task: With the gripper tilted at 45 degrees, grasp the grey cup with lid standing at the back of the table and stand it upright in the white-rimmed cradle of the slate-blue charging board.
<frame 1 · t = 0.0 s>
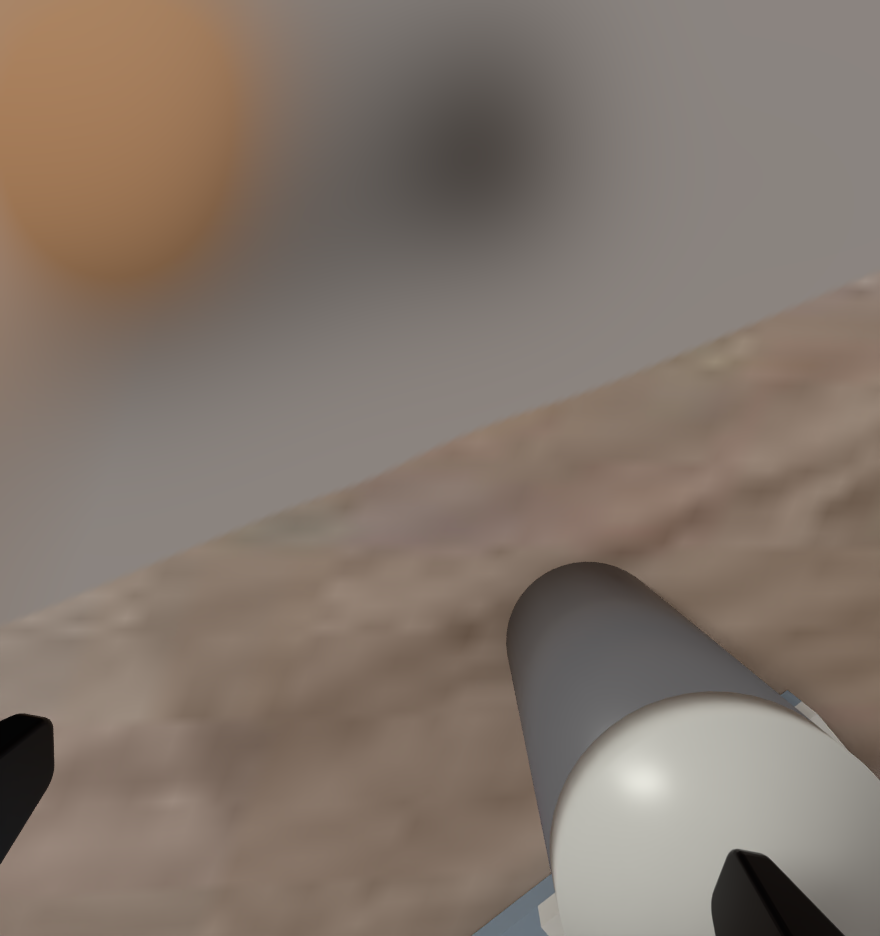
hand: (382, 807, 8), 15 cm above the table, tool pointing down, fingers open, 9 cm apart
charging board: (761, 911, 24), on the table
grey cup with lid: (587, 642, 24), on the table
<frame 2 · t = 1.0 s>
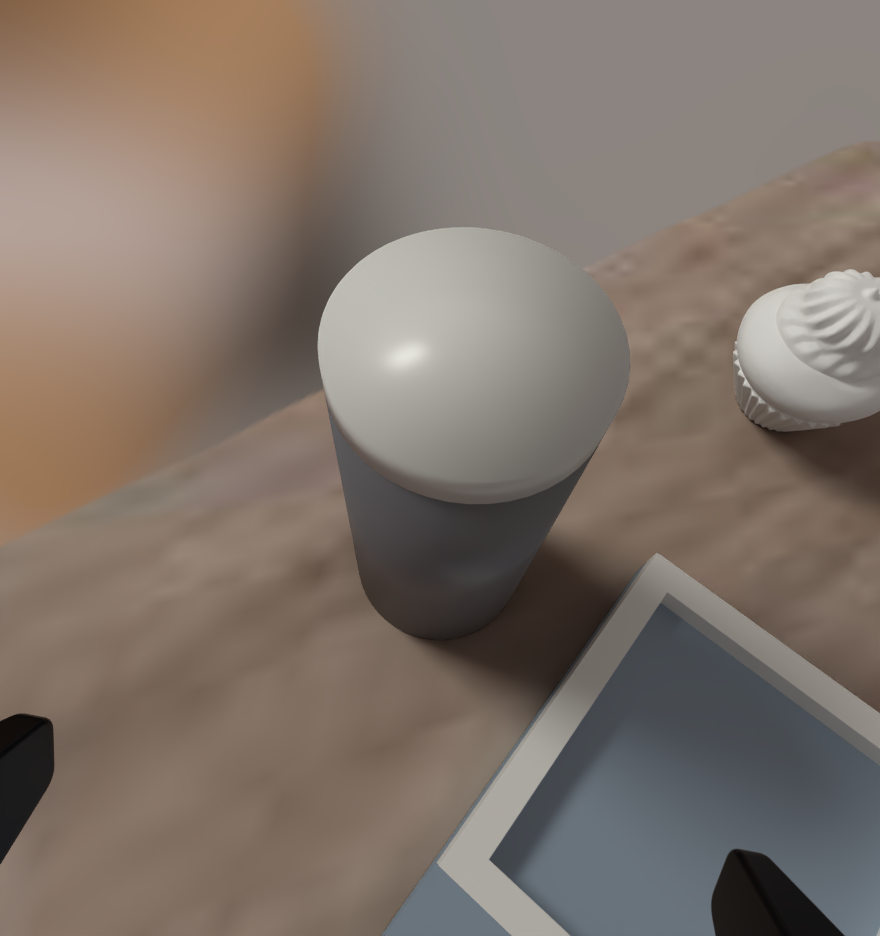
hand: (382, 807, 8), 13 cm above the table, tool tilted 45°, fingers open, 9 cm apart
muffin: (769, 403, 28), on the table
charging board: (700, 826, 20), on the table
grey cup with lid: (439, 558, 24), on the table
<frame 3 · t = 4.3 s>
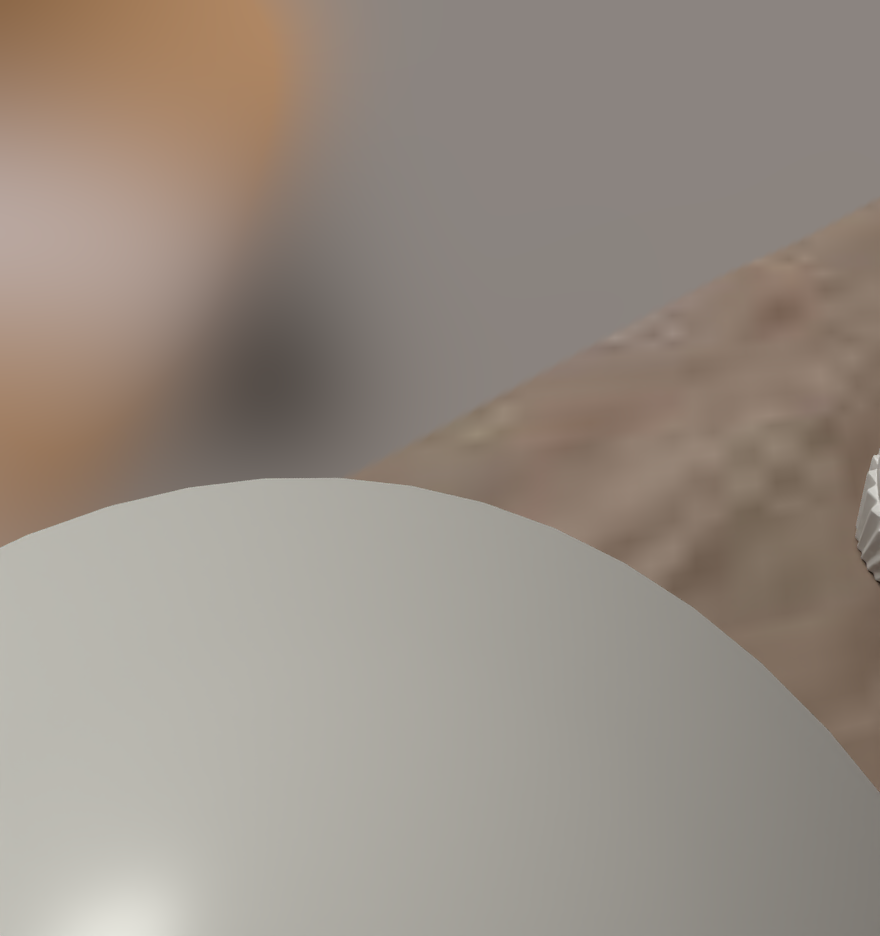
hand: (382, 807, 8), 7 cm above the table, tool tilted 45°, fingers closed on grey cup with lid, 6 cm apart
grey cup with lid: (375, 876, 14), on the table, touching gripper
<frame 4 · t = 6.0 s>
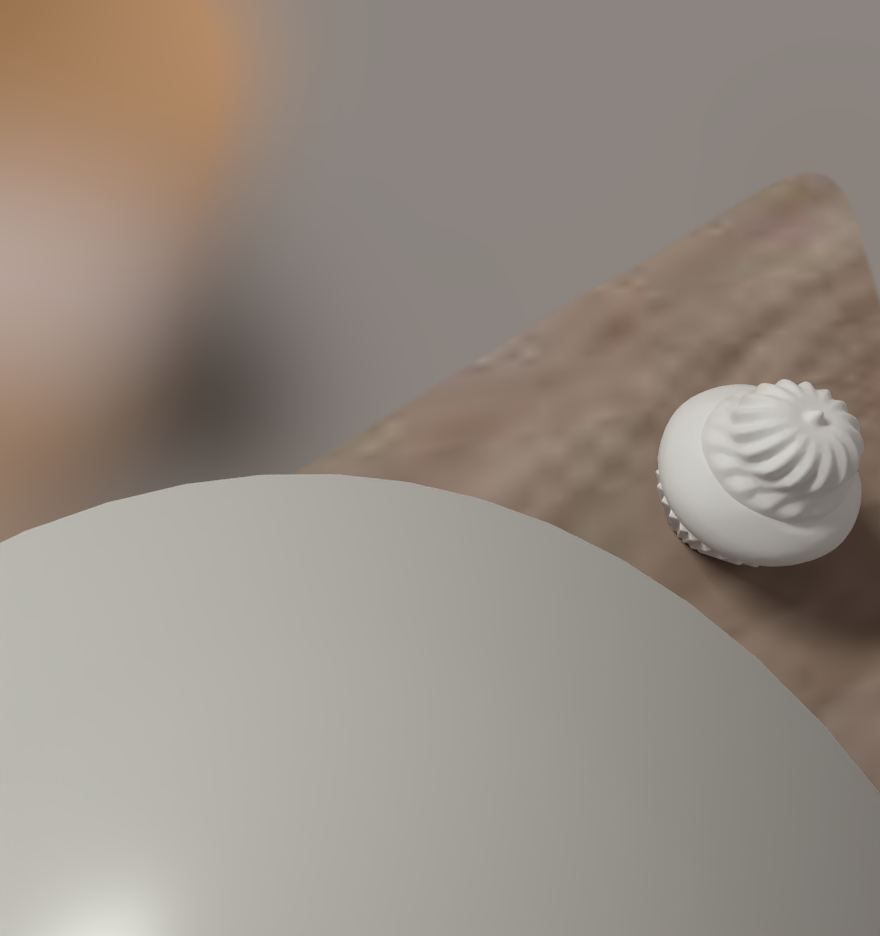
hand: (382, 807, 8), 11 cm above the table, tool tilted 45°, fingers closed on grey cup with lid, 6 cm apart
muffin: (706, 516, 23), on the table
grey cup with lid: (375, 875, 14), point 5 cm above the table, touching gripper
when the fingers open (9 cm above the table, at t = 7.9 s): grey cup with lid drops 2 cm, resting on charging board.
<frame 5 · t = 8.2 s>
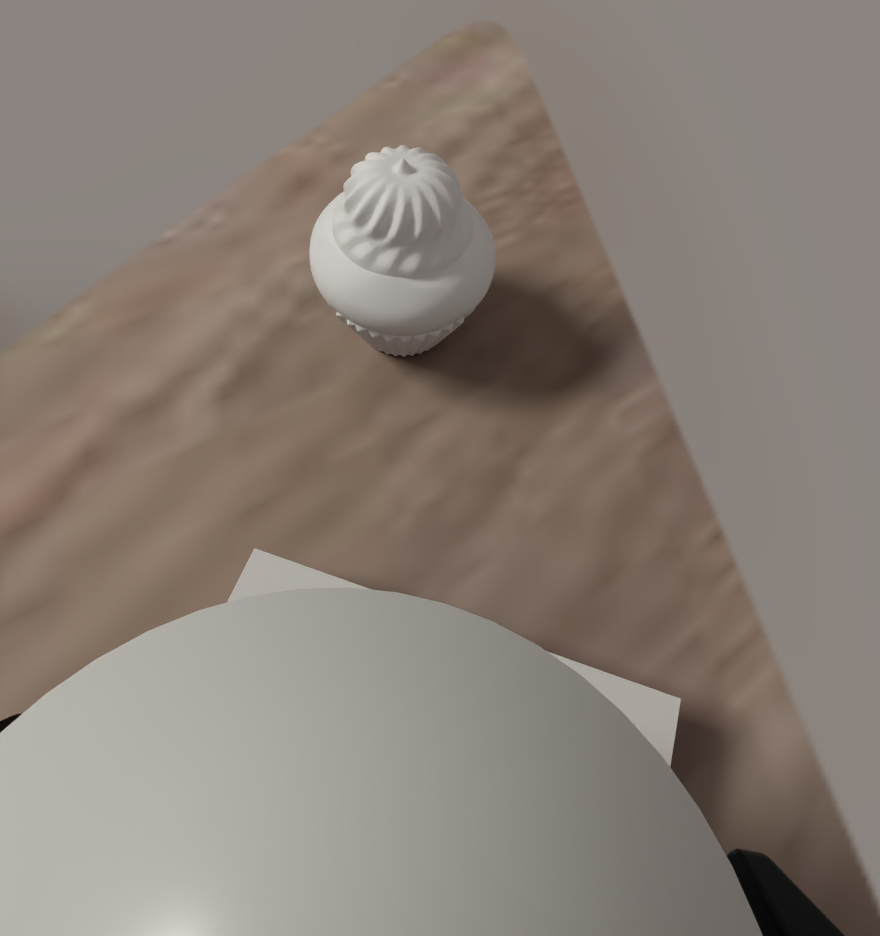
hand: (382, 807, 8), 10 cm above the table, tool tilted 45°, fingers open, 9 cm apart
muffin: (402, 326, 24), on the table
charging board: (380, 863, 16), on the table
grey cup with lid: (379, 871, 15), point 1 cm above the table, touching charging board
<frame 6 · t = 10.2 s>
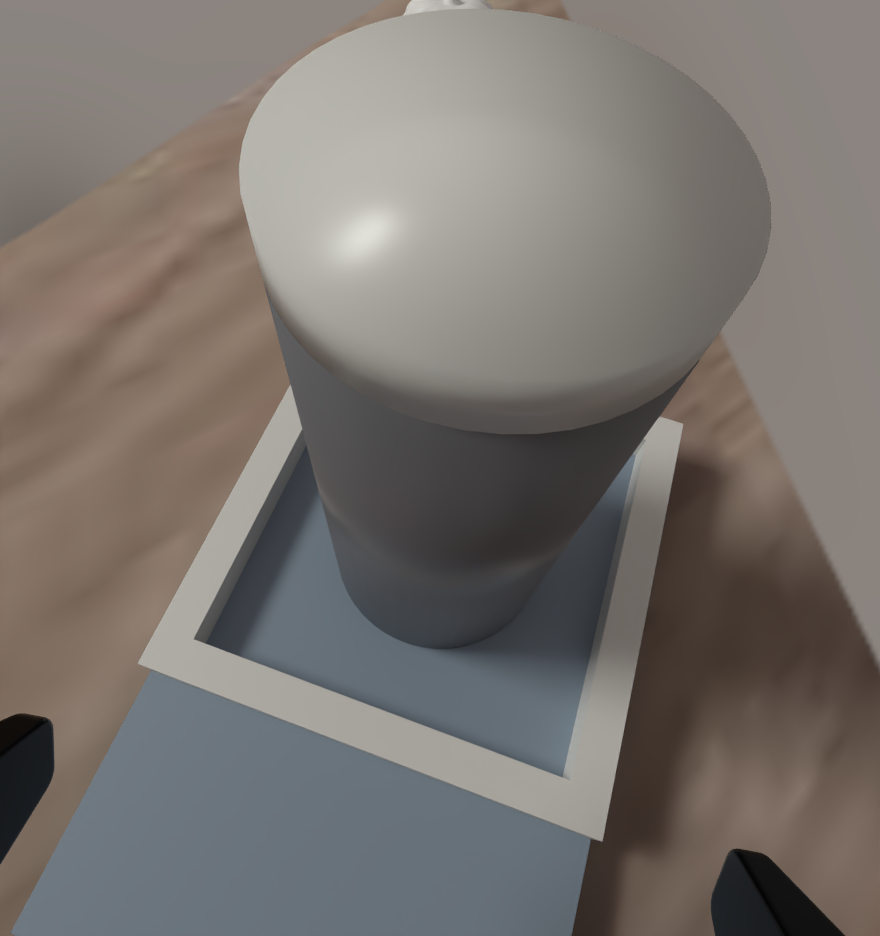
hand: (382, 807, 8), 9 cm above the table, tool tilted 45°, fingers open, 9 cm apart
muffin: (441, 174, 28), on the table
charging board: (437, 553, 20), on the table
grey cup with lid: (439, 545, 19), point 1 cm above the table, touching charging board
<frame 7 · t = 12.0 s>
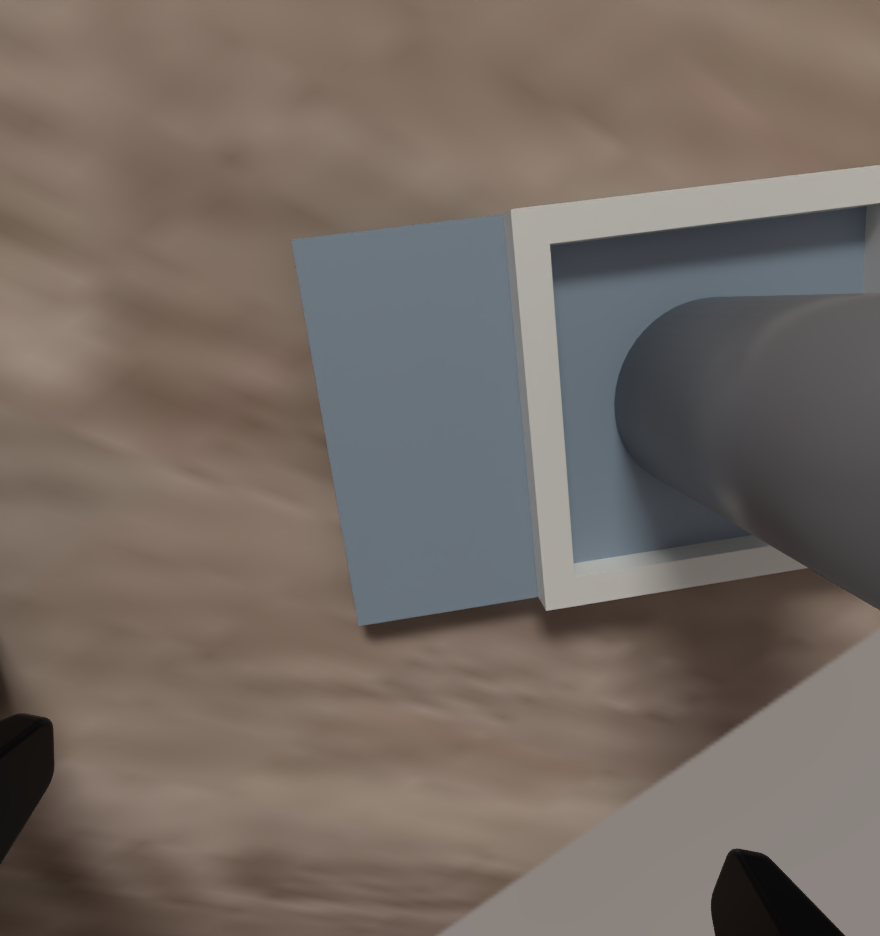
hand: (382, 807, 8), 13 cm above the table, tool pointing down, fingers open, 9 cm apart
charging board: (693, 389, 21), on the table
grey cup with lid: (706, 395, 20), point 1 cm above the table, touching charging board
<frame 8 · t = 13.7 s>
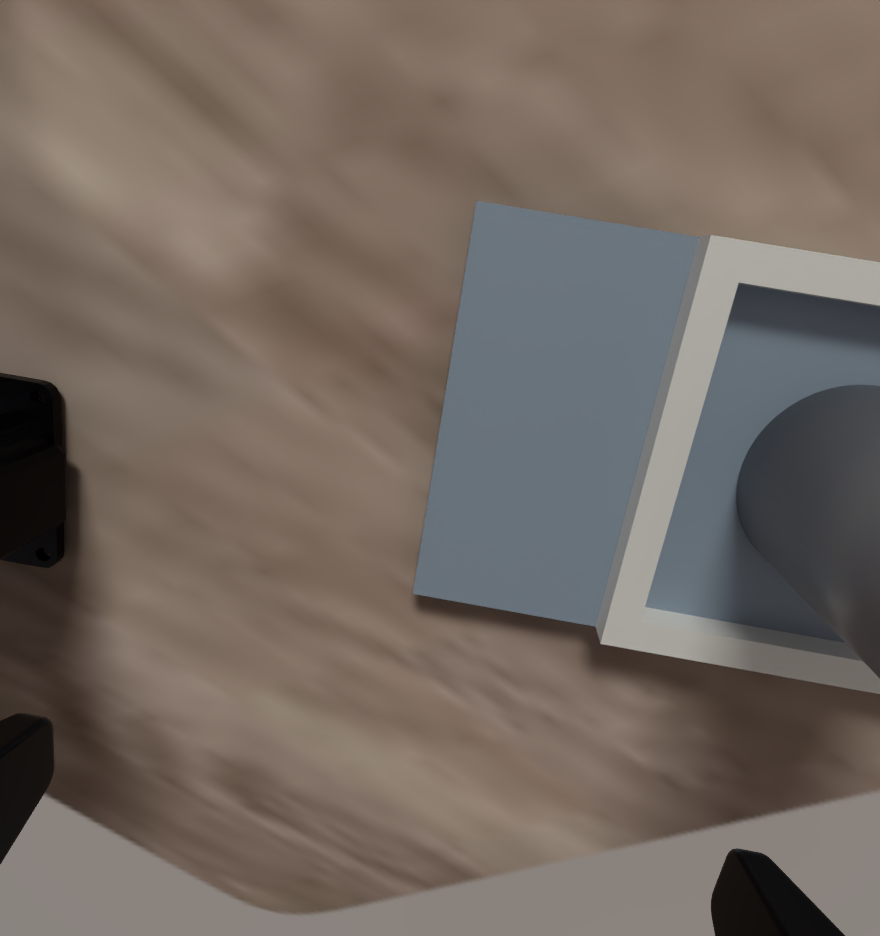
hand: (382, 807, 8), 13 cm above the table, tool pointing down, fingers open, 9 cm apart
charging board: (828, 475, 20), on the table
grey cup with lid: (843, 486, 19), point 1 cm above the table, touching charging board
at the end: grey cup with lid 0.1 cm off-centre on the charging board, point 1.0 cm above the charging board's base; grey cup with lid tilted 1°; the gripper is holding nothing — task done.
